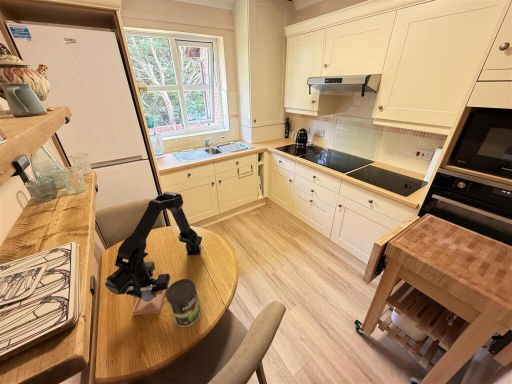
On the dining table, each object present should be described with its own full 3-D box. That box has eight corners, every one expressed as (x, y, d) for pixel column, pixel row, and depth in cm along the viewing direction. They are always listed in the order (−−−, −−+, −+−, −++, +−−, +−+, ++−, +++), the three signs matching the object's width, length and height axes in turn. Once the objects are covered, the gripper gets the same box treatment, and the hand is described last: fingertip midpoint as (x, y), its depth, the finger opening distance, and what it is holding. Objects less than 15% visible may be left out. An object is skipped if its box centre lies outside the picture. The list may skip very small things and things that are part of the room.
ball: (157, 292, 90) (155, 284, 88) (154, 303, 86) (151, 295, 83) (145, 293, 89) (142, 286, 87) (141, 305, 85) (137, 297, 83)
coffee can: (206, 309, 85) (201, 286, 78) (186, 332, 78) (179, 309, 71) (188, 297, 90) (182, 274, 83) (168, 317, 82) (159, 294, 76)
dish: (166, 289, 93) (165, 286, 92) (160, 312, 84) (158, 308, 83) (142, 292, 92) (141, 289, 91) (133, 315, 84) (131, 311, 83)
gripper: (169, 252, 87) (176, 278, 95) (121, 257, 86) (133, 282, 93) (162, 274, 78) (170, 301, 85) (108, 280, 76) (122, 306, 83)
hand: (149, 297), depth 87 cm, fingers closed on ball, 5 cm apart
